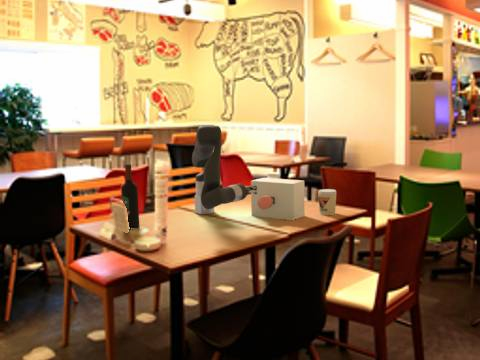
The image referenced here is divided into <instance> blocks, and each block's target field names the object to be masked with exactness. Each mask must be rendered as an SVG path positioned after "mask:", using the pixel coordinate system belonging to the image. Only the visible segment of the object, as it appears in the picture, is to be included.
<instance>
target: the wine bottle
mask: <svg viewBox="0 0 480 360" xmlns="http://www.w3.org/2000/svg"><path fill="white" fill-rule="evenodd" d="M124 169H125V182H124V183H123V184H122V185H121V187H120V190H121V191H120V192H121V202H122V201H123V203H124V204H125V206H126V208H127V213H128V222H129V227H130V229H129V230H132V229H131V228H137V229H139V228H140V212H139V193H138V190H139V189H138V186H137V184H136V183H135V182H134V181H133V177H132V174H133V173H132V164H127V163H126V164H125V165H124ZM138 227H139V228H138Z"/></svg>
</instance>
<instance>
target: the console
mask: <svg viewBox="0 0 480 360" xmlns="http://www.w3.org/2000/svg"><path fill="white" fill-rule="evenodd" d="M250 186H257V194H253V192H252V193H251V194H250V198H251V217H258V216H259V218H266V219H267V218H268V219H277V220H284V219H286V221H295V219H296V220H298V219H301V218H303V217H305V213H306V212H305V210H306V209H305V204H306V203H305V202H306V201H305V199H306V198H305V180H299V179H290V178H289V179H285V178H281V179H274V178H267V177H261V178H256V179H253V180H251V181H250ZM265 195H268V196H270V197H271V198H273V197H274V198H275V202H273V205H272V207H270V208H268V209H265V210H262V209H260V208H259V206H258V204H257V201H258V199H259V198H260V197H262V196H265ZM300 217H301V218H300Z"/></svg>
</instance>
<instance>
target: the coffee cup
mask: <svg viewBox="0 0 480 360" xmlns="http://www.w3.org/2000/svg"><path fill="white" fill-rule="evenodd" d="M317 194H318V208H319V214H320V215H322V216H334V215H336V208H337V207H336V205H337V190H336V189H331V188H325V189H324V188H321V189H319V190H318V191H317Z"/></svg>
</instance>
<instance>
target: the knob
mask: <svg viewBox="0 0 480 360" xmlns="http://www.w3.org/2000/svg"><path fill="white" fill-rule="evenodd" d="M273 202H275V198H274V197H273V198H271V197H270V196H268V195H265V196H262V197H260V198H259V199H258V201H257V204H258V206H259V208H260V209H262V210H265V209H268V208H270V207H272V205H273Z"/></svg>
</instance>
